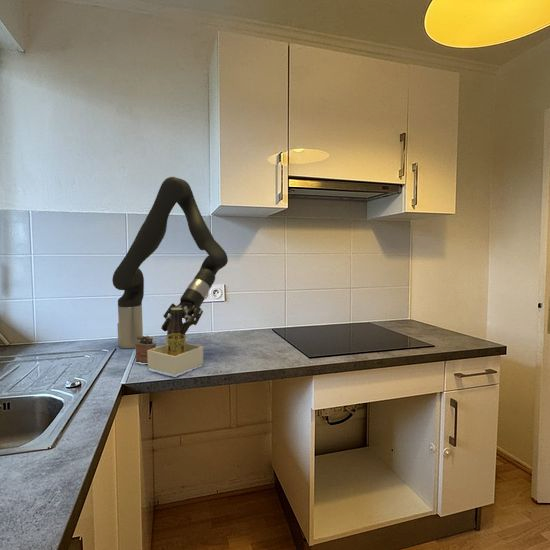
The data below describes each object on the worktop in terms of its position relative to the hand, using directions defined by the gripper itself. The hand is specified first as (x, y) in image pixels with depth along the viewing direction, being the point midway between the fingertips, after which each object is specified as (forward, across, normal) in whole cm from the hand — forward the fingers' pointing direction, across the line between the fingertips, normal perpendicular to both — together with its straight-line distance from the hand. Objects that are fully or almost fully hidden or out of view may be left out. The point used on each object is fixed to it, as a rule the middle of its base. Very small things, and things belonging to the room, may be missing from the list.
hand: (172, 331), depth 113 cm
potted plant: (+10, -13, +9) cm, 19 cm away
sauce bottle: (+8, 0, +10) cm, 12 cm away
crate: (+8, 0, +10) cm, 13 cm away
